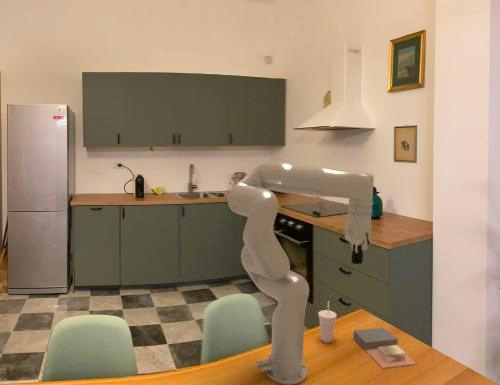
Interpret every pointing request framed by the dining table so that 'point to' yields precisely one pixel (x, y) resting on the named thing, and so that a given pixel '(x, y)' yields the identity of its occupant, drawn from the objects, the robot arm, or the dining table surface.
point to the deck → (374, 338)
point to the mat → (385, 365)
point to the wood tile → (391, 353)
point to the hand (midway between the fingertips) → (356, 262)
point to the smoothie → (327, 324)
